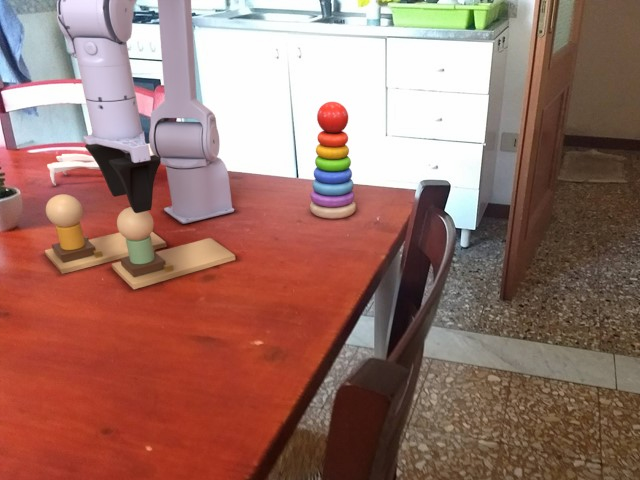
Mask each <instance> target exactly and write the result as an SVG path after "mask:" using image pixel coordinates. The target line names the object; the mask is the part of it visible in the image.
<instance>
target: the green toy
mask: <svg viewBox="0 0 640 480" xmlns="http://www.w3.org/2000/svg"><path fill="white" fill-rule="evenodd" d="M154 226H155V221H154V218H153V216H152V215H151V213H150V212H149V211H145V212H140V213H135V212H134V211H133V209H132V208H131V206H128V207H126V208H124V209H123V210H122V211H121V212H120V213H119V214H118V216H117V218H116V227H117V230H118V233H119V232H120V233H121V234H122V235H123V236H124V237H125V238H126V243H127V248H128V253H129V256H127V257H123V258H120V259H119V260H120V261H121V265H122V266H123V267H124V268H125V269H126V270H127V271H128V272H129V273H130V274H131V275H132V276H133V277H137V276H140V275H144V274H147V273H151V272H154V271H158V270H161V269H164V266H163V265H165V264H166V263H165V260H164V259H163V258H161V257H160V256H159V255H158V254H157V253H155V252H156V251H155V252H154V251H153V246H152V241H151V236H150V234H151V233H152V232H154V231H153V230H154V228H155V227H154ZM120 261H119V262H120Z"/></svg>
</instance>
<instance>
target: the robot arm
mask: <svg viewBox="0 0 640 480" xmlns="http://www.w3.org/2000/svg"><path fill="white" fill-rule="evenodd" d="M137 1H138V0H57V2H56V12H57V15H56V21H57V24H58V26H59V29H60V32H61V34H62V35H63V36H64V37H65V40H66V42H67V44H68V48H69V53H70V54H71V56H72V58H75V59H76V61H77V66H78V71H79V75H80V80H81V86H82V89H83V94H84V98H85V103H86V108H87V112H88V117H89V121H90V126H91V131H92V132H91V134H89V135H84V136H82V138H83V143H85V145H84V147H85V148H86V150H87V152H89V154H90V156H93V158H94V159H95V161H96V162H97V164H98V166H99V168H100V171H101V174H102V176H103V178H104V181H105V183H106V186H107V187H108V189H109V192H110V194H111V195H112V196H113V197H120V196H125V195H126V197H127V200H128V203H129V205H130V207H131V208H132V209H133V211H134V212H135V213H140V212H145V211H148V212H149V211H152V207H153V194H154V193H153V192H154V186H155V185H154V183H155V179H156V176H157V173H158V170H159V169H160V168H159V167H160V166H165V169H166V170H165V171H166V176H167V177H166V178H167V182H168V187H169V195H170V203H171V206H167V207H164V208H163V211H164V212H165V213H167V214H168V215H169V216H171V217H172V218H174V219H175V220H176V221H178V222H179V223H181V225H182V224H183V225H185V224H186V225H187V224H189V223H190V224H191V223H194V222H198V221H202V220H207V219H210V218H211V219H212V218H215V217H218V216H219V217H220V216H224V215H226V214H231V213H235V208H234V207H233V201H232V193H231V186H230V176H229V171H228V168H227V166H226V164H225V162H224V161H223V160H222V159H221V158H220V157H218V156H219V153H220V146H221V145H220V143H221V142H220V134H219V130H218V127H217V118H216V115H215V113H213V111H212V110H211V109H210V108H208V107H207V106H205V105H204V104H202V103H201V101H199V100H198V95H197V79H196V62H195V44H194V28H193V11H192V0H157V10H158V11H157V12H158V23H159V25H158V26H159V36H160V37H159V38H160V50H161V51H160V53H161V65H162V77H163V78H162V79H163V92H164V100H163V101H162V103H161V104H159V105H157V106H156V107H155V108H154V109H153V111H152V112H150V127H149V133H148V142H149V143H150V148H151V151H152V153H153V154H154V155H152V156H150V152H149V147H148V144H149V143H147V142H146V137H145V136H146V135H145V131H144V130H143V129H142V128H143V127H142V122H141V117H140V111H139V106H138V100H137V95H136V89H135V88H136V87H135V82H134V78H133V77H134V76H133V71H132V68H131V60H130V54H129V48H128V41H129V40H130V39H131V37H132V31H133V19H134V9H133V8H134V7H135V5H136V3H137ZM171 119H189V120H190V119H193V120H197V121H178V120H177V121H176V120H175V121H173V120H171ZM160 160H161V162H160Z"/></svg>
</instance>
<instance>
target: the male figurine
mask: <svg viewBox="0 0 640 480" xmlns="http://www.w3.org/2000/svg"><path fill="white" fill-rule="evenodd" d="M147 144H148V147H149V152H150V156H152V155H154V154H153V153H152V151H151V148H150V143H147ZM55 158H56V160H57V161H58V162H57V161H56V162H51V163H47V164H46V166H47V169H48V170H49V177H50V179H51V182H52V184H53V186H55V187H56V186H57V183H56V174H57V173H63V174H64V175H65V176H67V175H68V174H67V171H71V170H78V169H79V170H80V169H90V170H100V168H99V166H98V164H97V162H96V161H95V159H94V158H93V156H92V155H89V154H85V153H62V154H61V155H56V157H55ZM160 163H161V160H160ZM100 171H101V170H100Z"/></svg>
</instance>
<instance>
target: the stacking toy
mask: <svg viewBox="0 0 640 480" xmlns="http://www.w3.org/2000/svg"><path fill="white" fill-rule="evenodd" d="M316 120H317V124H318V126H319V128H320V129H321V130H322V131H320V132H319V133H318V134H317V142H318V143H319V144H318V145H317V146H316V147H315V153H316V155H317V156H316V157H315V160H314V163H315V166H316V167H315V168H314V169H313V177H314V179H313V181H312V191H311V192H310V200H311V202H310V204H309V210H310V212H311V213H312V214H313V215H315V216H317V217H319V218H323V219H329V220H331V219H333V220H334V219H335V220H337V219H343V218H347V217H349V216H352V215H353V214H354V213H355V212H356V210H357V204H356V202H355V201H354V199H355V192H354V191H353V189H354V186H355V185H354V182H353V179H351V178H352V177H353V172H352V170H351V168H350V167H351V165H352V161H351V158H350V157H349V156H348V155H349V154H350V149H349V147H348V145H346V144H348V141H349V135H348V134H347V132H345V131H344V130H345V129H346V127H347V126H348V123H349V113H348V110H347V109H346V107H345V106H344V105H343V104H342V103H340V102H337V101H327V102H325V103H323V104H322V105H321V106H320V107H319V109H318V111H317V116H316Z"/></svg>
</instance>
